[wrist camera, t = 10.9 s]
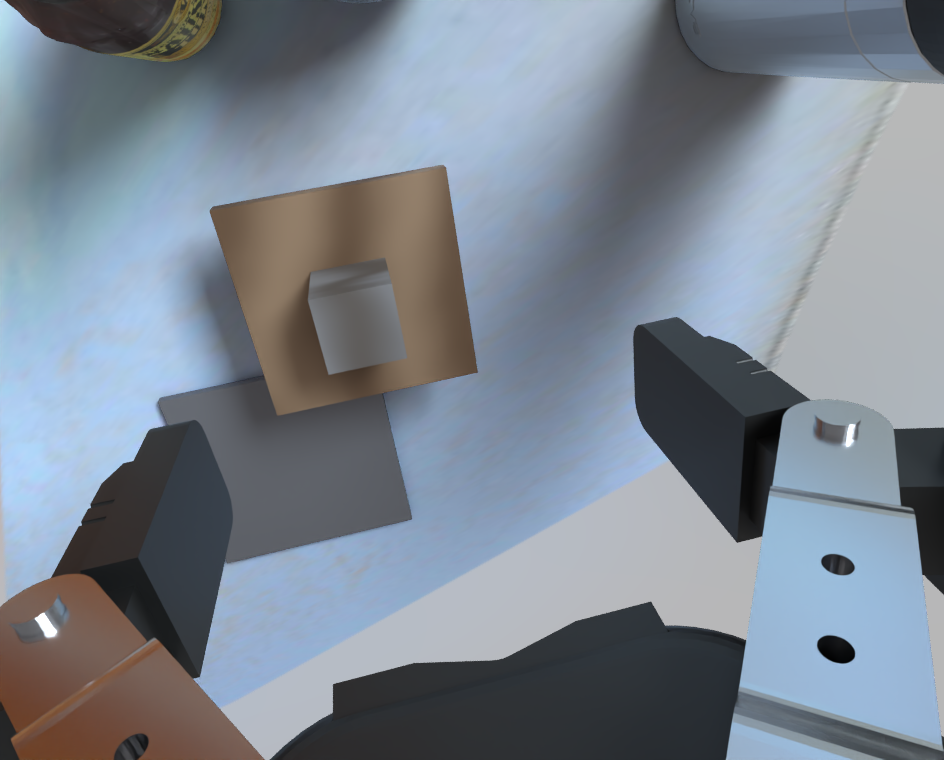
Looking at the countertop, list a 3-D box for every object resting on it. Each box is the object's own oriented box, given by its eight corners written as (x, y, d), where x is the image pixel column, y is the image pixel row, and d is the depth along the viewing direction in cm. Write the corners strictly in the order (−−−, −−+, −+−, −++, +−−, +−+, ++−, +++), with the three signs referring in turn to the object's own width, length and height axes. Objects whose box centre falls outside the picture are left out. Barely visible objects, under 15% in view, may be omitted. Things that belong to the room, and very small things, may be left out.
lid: (442, 164, 34) (461, 183, 29) (474, 365, 40) (494, 408, 35) (212, 206, 33) (192, 233, 28) (278, 407, 39) (270, 458, 34)
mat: (372, 353, 44) (373, 356, 43) (411, 514, 50) (412, 519, 50) (160, 397, 42) (158, 402, 42) (228, 557, 49) (227, 563, 48)
